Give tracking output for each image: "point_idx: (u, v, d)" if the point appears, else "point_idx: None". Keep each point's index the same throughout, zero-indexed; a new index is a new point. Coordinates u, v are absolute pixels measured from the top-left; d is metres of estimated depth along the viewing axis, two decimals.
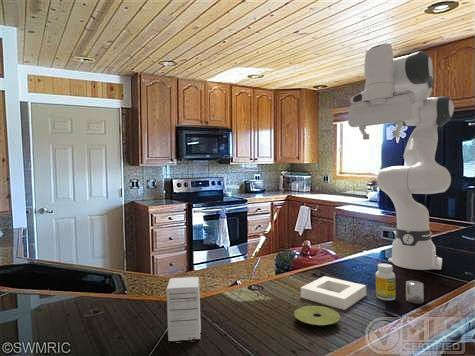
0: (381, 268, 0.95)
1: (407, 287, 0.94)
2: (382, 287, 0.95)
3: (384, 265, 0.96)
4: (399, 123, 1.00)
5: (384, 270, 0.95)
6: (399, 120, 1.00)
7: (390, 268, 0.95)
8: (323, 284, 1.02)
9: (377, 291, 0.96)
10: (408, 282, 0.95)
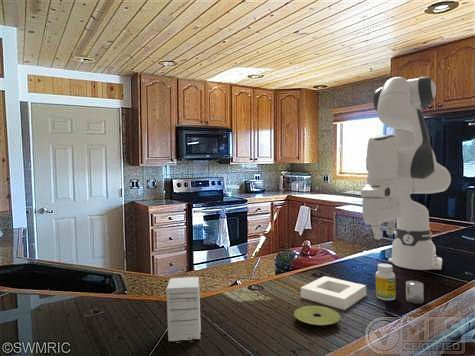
0: (381, 268, 0.95)
1: (407, 287, 0.94)
2: (382, 287, 0.95)
3: (384, 265, 0.96)
4: (395, 221, 1.00)
5: (384, 270, 0.95)
6: (396, 218, 1.00)
7: (390, 268, 0.95)
8: (323, 284, 1.02)
9: (377, 291, 0.96)
10: (408, 282, 0.95)
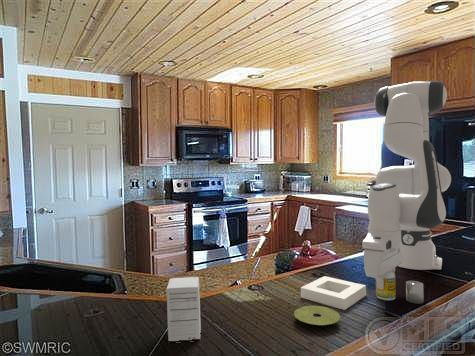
0: None
1: (407, 287, 0.94)
2: None
3: None
4: (394, 269, 0.99)
5: None
6: (397, 265, 1.00)
7: None
8: (323, 284, 1.02)
9: (377, 291, 0.96)
10: (408, 282, 0.95)
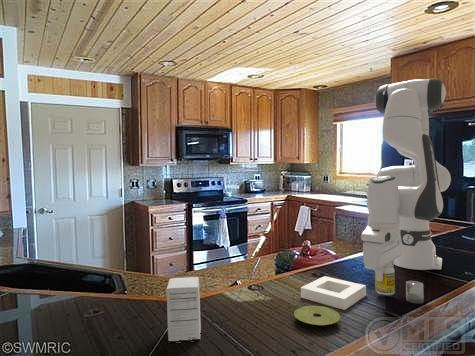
0: None
1: (407, 287, 0.94)
2: (381, 282, 0.95)
3: None
4: (394, 261, 1.00)
5: None
6: (397, 257, 1.00)
7: (389, 263, 0.95)
8: (323, 284, 1.02)
9: (376, 286, 0.97)
10: (408, 282, 0.95)
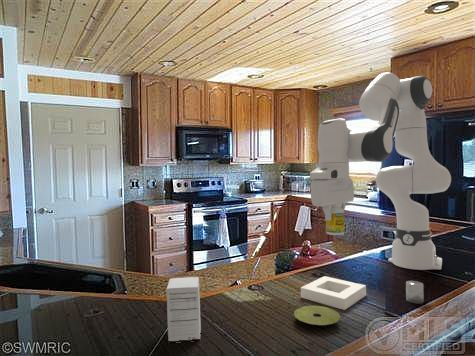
0: None
1: (407, 287, 0.94)
2: (330, 222, 0.96)
3: None
4: (345, 204, 1.01)
5: (332, 205, 0.96)
6: (348, 201, 1.02)
7: (338, 203, 0.96)
8: (323, 284, 1.02)
9: (326, 227, 0.98)
10: (408, 282, 0.95)
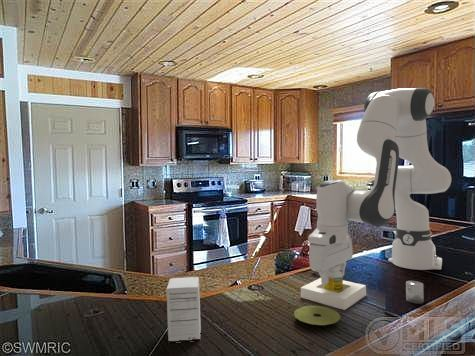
0: None
1: (407, 287, 0.94)
2: (329, 287, 0.97)
3: None
4: (345, 263, 1.02)
5: (331, 269, 0.97)
6: None
7: (337, 268, 0.97)
8: (323, 284, 1.02)
9: None
10: (408, 282, 0.95)
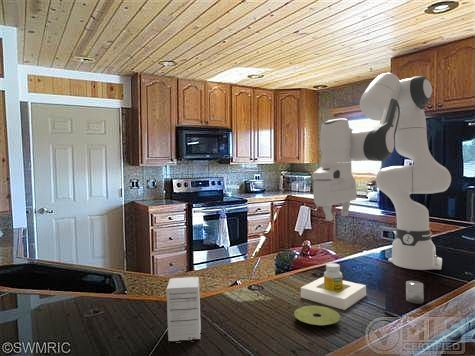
0: (328, 268, 0.97)
1: (407, 287, 0.94)
2: (329, 287, 0.97)
3: (332, 265, 0.98)
4: (349, 203, 1.03)
5: (330, 269, 0.97)
6: (351, 200, 1.02)
7: (337, 268, 0.97)
8: (323, 284, 1.02)
9: None
10: (408, 282, 0.95)
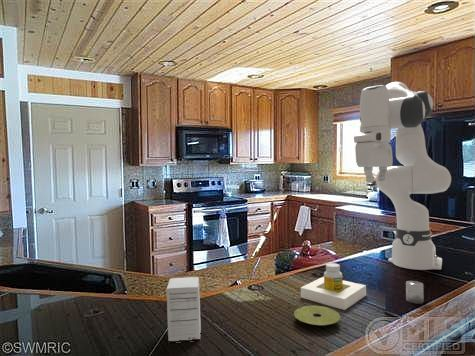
0: (328, 267, 0.97)
1: (407, 287, 0.94)
2: (329, 287, 0.97)
3: (332, 265, 0.98)
4: (386, 169, 1.06)
5: (330, 269, 0.97)
6: (388, 166, 1.06)
7: (337, 268, 0.97)
8: (323, 284, 1.02)
9: None
10: (408, 282, 0.95)
